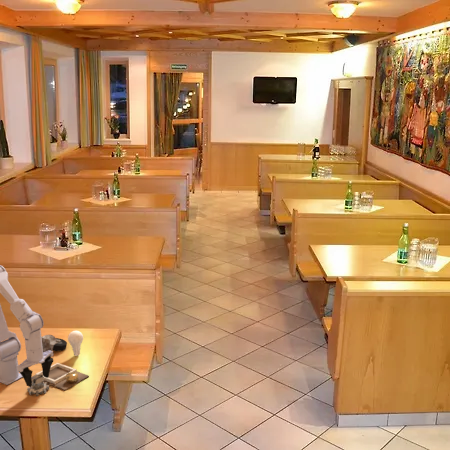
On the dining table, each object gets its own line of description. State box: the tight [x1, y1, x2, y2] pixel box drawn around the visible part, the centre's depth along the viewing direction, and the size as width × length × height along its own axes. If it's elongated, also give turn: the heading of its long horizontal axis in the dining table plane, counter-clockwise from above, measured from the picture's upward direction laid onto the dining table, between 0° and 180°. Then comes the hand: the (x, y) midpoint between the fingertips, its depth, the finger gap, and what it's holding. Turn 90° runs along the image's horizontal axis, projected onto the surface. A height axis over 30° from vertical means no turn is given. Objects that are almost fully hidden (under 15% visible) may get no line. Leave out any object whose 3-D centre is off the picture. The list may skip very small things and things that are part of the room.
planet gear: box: [26, 373, 50, 397], centre depth 211 cm, size 8×8×6 cm
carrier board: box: [43, 367, 90, 391], centre depth 220 cm, size 18×12×1 cm
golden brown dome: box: [66, 371, 78, 384], centre depth 217 cm, size 4×4×2 cm
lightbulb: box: [67, 330, 84, 357], centre depth 237 cm, size 6×6×11 cm
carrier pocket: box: [35, 362, 78, 384], centre depth 222 cm, size 11×11×1 cm
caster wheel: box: [41, 334, 68, 352], centre depth 243 cm, size 7×11×10 cm
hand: (37, 381), depth 211 cm, fingers open, 7 cm apart
